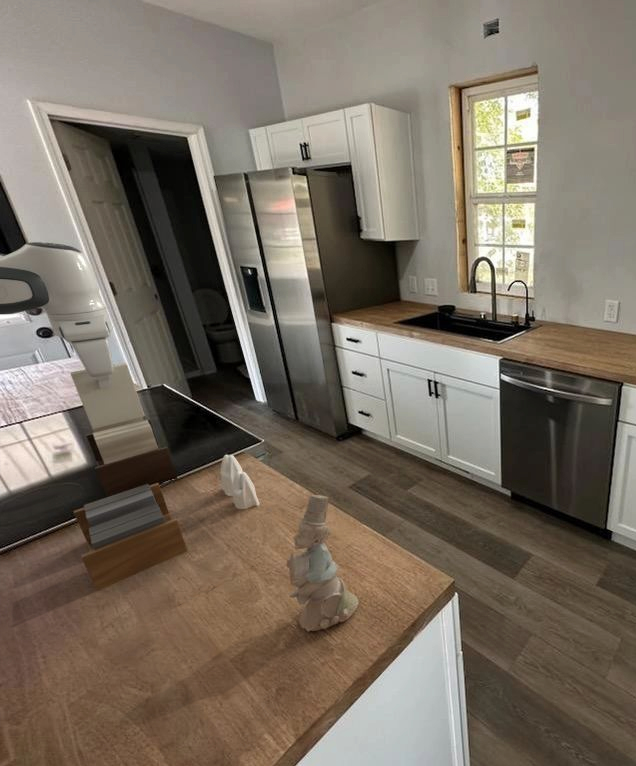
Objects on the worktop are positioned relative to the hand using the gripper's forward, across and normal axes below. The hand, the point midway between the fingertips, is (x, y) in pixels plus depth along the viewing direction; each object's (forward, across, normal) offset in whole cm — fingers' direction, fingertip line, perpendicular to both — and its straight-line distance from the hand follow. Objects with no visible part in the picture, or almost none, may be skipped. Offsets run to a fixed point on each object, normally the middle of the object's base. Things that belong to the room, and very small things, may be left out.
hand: (105, 384), depth 91 cm
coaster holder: (+23, +34, -4) cm, 41 cm away
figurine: (+23, +71, +14) cm, 76 cm away
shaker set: (+23, +31, +14) cm, 41 cm away
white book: (+9, 0, 0) cm, 9 cm away
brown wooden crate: (+23, 0, 0) cm, 23 cm away
